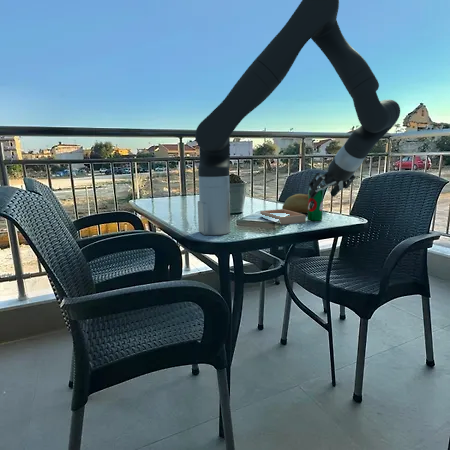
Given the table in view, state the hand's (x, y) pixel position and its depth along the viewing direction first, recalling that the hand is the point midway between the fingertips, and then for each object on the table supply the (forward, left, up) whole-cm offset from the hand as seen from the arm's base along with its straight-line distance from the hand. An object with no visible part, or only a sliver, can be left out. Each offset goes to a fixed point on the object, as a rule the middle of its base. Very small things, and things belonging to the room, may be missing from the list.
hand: (321, 195), depth 109 cm
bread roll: (+4, +18, -10) cm, 21 cm away
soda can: (0, +3, -9) cm, 10 cm away
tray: (-10, +10, -9) cm, 16 cm away
